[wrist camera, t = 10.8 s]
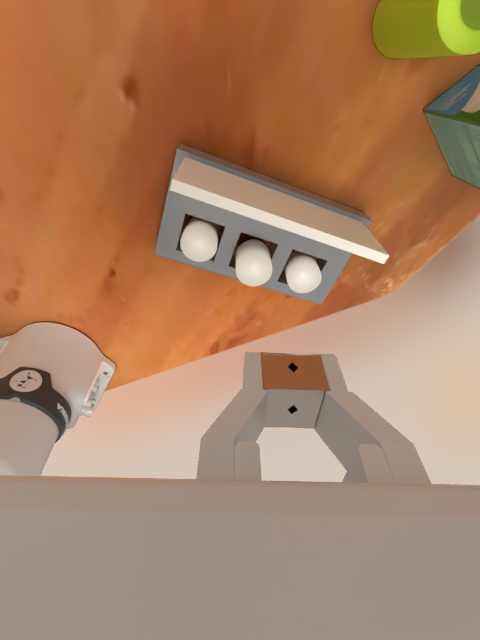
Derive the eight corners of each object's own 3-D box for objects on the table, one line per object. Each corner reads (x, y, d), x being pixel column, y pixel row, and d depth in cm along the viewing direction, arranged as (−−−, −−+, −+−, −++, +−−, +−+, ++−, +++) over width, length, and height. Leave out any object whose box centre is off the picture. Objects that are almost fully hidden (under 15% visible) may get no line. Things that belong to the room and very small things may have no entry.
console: (317, 293, 50) (336, 346, 41) (158, 244, 45) (137, 291, 36) (364, 212, 43) (400, 254, 33) (180, 143, 38) (162, 168, 28)
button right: (306, 281, 48) (311, 297, 45) (278, 272, 47) (281, 287, 44) (321, 255, 45) (327, 269, 42) (291, 245, 44) (296, 259, 41)
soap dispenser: (438, 54, 33) (624, 41, 17) (368, 62, 34) (487, 57, 18) (455, -30, 30) (709, -143, 14) (377, -20, 30) (535, -119, 14)
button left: (213, 252, 45) (211, 266, 42) (180, 242, 44) (176, 255, 41) (222, 222, 42) (221, 234, 39) (189, 210, 42) (185, 222, 38)
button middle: (262, 274, 45) (264, 290, 42) (231, 265, 44) (230, 280, 41) (275, 245, 42) (278, 260, 39) (242, 234, 41) (242, 248, 38)
